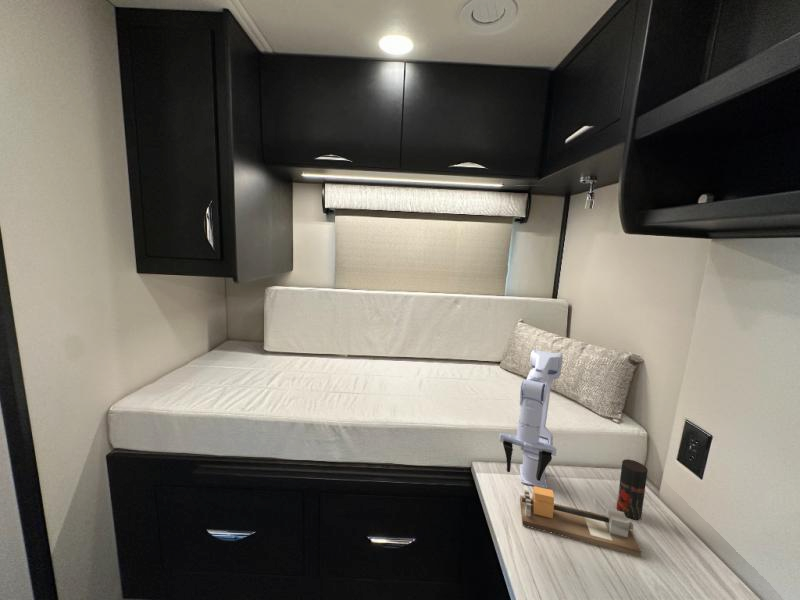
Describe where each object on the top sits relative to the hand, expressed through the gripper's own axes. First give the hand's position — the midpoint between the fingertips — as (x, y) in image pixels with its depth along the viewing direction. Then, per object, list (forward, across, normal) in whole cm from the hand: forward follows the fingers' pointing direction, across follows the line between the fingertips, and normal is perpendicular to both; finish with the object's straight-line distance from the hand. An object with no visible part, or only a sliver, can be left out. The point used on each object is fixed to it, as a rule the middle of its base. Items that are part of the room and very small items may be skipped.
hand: (522, 475), depth 84 cm
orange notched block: (+11, +7, +9) cm, 16 cm away
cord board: (+12, +16, +9) cm, 22 cm away
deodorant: (+8, +33, +19) cm, 39 cm away
